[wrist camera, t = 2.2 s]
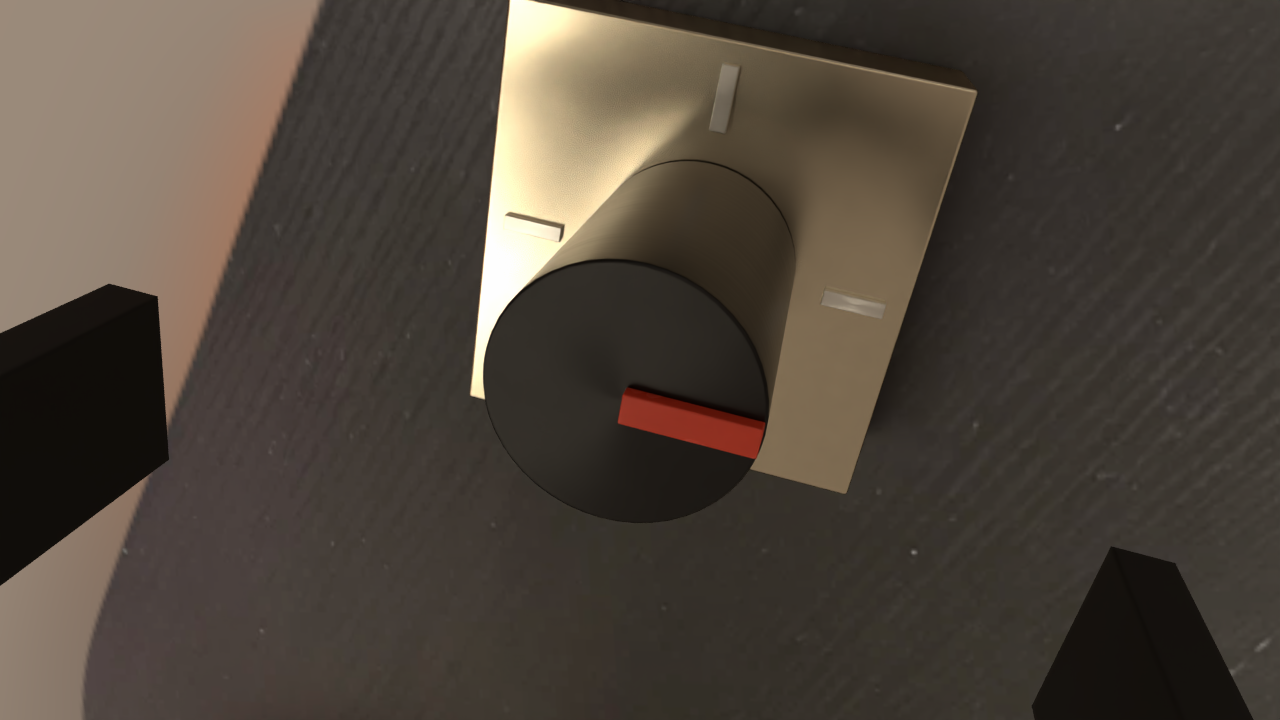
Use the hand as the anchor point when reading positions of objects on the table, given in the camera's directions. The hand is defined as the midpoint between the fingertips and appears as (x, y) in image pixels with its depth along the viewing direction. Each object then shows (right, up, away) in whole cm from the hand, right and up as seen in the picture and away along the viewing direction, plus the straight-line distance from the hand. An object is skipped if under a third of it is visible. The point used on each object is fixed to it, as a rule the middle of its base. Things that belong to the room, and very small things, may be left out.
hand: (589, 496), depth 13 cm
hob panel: (+2, +5, +11) cm, 13 cm away
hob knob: (+2, +4, +9) cm, 10 cm away
